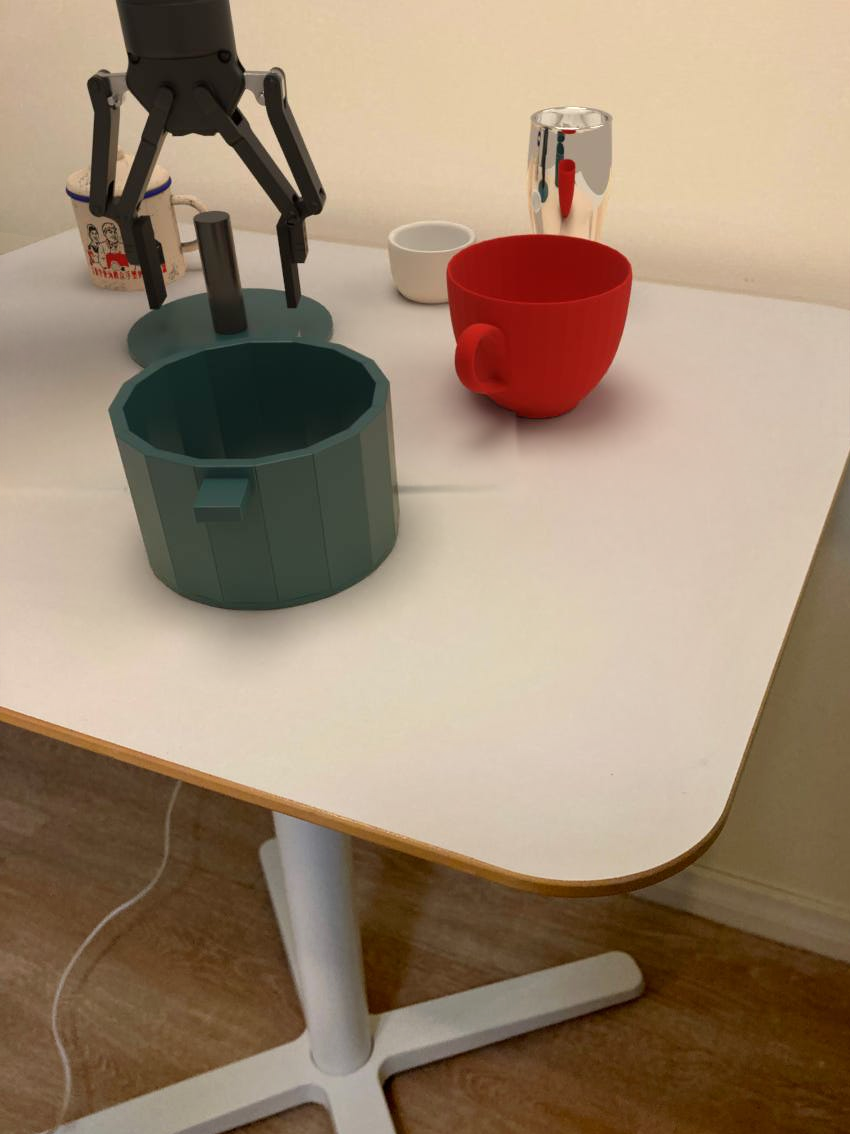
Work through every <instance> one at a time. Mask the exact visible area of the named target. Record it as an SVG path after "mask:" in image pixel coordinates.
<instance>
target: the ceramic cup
mask: <svg viewBox="0 0 850 1134" xmlns="http://www.w3.org/2000/svg"><path fill="white" fill-rule="evenodd" d="M446 280H447V292H448V301H449V302H448V308H449V317H450V321H451V327H452V332H453V337H454V340H455V343H456V346H455V351H454V368H455V372H456V376H457V377H458V379H459V381H460V383H461V384H462V385H463V386H464V387H465V388H466V389H467V390H469V391H471V392H474V393H477V394H483V395H486V396H487V397H488V398H489V399H491V400H492V401H493V402H494V403H495V404H497V405H498V406H499V407H502V408H504V409H505V410H509V411H512V412H515V416H516V417H521V418H528V419H546V418H552V417H557V416H561V415H564V414H566V413H569V412H571V411H572V410H574V409H575V408H576V407H577V406H578V405H579V403H580V402H581V401H582V400H584V399H585V398H586V397H587V396H588V395H589V394H590V393H591V392H592V391H593V390H594V389H595V388H596V387H597V385H598V384H599V383H600V382H601V381H602V380H603V378H604V376H605V375H606V374H607V372H608V371H609V369H610V367H611V365H613V362H614V359H615V357H616V355H617V352H618V349H619V346H620V345H621V340H622V338H623V334H624V330H625V328H626V327H625V326H626V323H627V319H628V318H627V317H628V313H629V308H630V307H629V306H630V300H631V295H632V286H633V269H632V264H631V262H630V261H629V259H628V258H627V256H625V255H624V254H623V253H622V252H620V251H619V250H617V249H615V248H613V247H611V246H610V245H606V244H604V243H601V242H599V243H598V242H595V241H591V240H587V239H583V238H578V237H571V236H564V235H550V234H533V233H527V234H514V235H508V236H507V235H506V236H500V237H495V238H491V239H487V240H483V241H480V242H477V244H474V245H471V246H469V247H467V248H465V249H463V250H461V251H459V252H458V253H457V254H456V255H454V256H453V257H452V259H451V260H450V261H449V263H448V266H447V271H446Z"/></svg>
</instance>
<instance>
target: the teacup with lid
mask: <svg viewBox="0 0 850 1134" xmlns="http://www.w3.org/2000/svg"><path fill="white" fill-rule="evenodd" d="M134 158H135V156H133V155H130V154H125V151H124V148H123V146H122V145H121V144H119V143H118V151H117V165H116V179H115V193H114V197H117V198H121V195H122V192H123V189H124V186H125V184H126V181H127V178H128V175H129V172H130V170H131V167H132V164H133V161H134ZM90 178H91V161H90V162H89V163H88V164H87V165H86V166H85V167H83V168H80V169H78V170H75V172H73V173H72V174H70V175H69V176H68V178H67V179H66V182H65V193H66V195H67V196H68V197H69V198H70V201H71V206H72V209H73V213H74V217H75V221H76V225H77V229H78V233H79V236H80V241H81V245H82V248H83V251H84V257H85V259H86V264H87V267H88V271H89V276H90V278H91V281H92V283H93V284H94V285H95V286H97V287H99V288H101V289H103V290H110V291H115V292H116V291H117V292H135V291H143V290H145V285H144V281H143V277H142V272H141V268H140V265H130V263H129V262H128V260H127V259H126V254H125V250H124V245H123V241H122V237H121V233H120V229H119V226H118V224H117V223H116V222H115V221H113V220H112V219H109V218H106V217H103V216H102V217H95V216H93V215H92V214H91V212H90V210H89V196H90ZM171 185H172V177H171V176H170V174H169V172H168V171H167V169H166V168H165V167H163V166H162V165H160V164H157V163H156V165H155V168H154V170H153V173H152V176H151V178H150V181H149V184H148V187H147V189H146V192H145V195H144V197H143V200H142V203H141V206H140V208H141V209H140V210H139V212H138V217H140V215H150V218H151V223H152V227H153V232H154V237H155V241H156V246H157V251H158V255H159V260H160V264H161V269H162V274H163V278H164V283H165V286H166V285H168V284H171V283H173V282H175V281H177V280H178V279H180V278H181V277H182V276H184V274H185V273H186V271H187V266H186V261H185V256H184V253H185V254H186V253H192V252H195V251H197V250H199V248H198V243H197V238H196V239H194V240H191V241H186V242H182V240H181V236H180V235H181V234H180V231H179V225H178V220H177V215H176V209H175V206H180V205H181V206H184V205H185V206H189V207H192V208H194V209H195V210H196V211H197V212H198V214H199V213H202V212H207V211H210V210H209V208H208V206H207V205H206V204H205V203H204V202H203V200H201V199H199V198H198V197H196V196H194V195H190V194H183V193H182V194H172V189H171ZM145 291H146V290H145Z"/></svg>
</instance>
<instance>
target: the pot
mask: <svg viewBox="0 0 850 1134" xmlns="http://www.w3.org/2000/svg"><path fill="white" fill-rule="evenodd" d="M392 407H393V406H392V394H391V383H390V380H389V379H388V378H387V376H386V375H385V374H384V372H383V371H382V369H381V368H380V366H379V365H378V363H377V362H376V361H375V360H374V359H373V358H370V357H368V356H366V355H364V354H362V353H361V352H358V351H356V350H354V349H352V348H350V347H348V346H346V345H343V344H341V343H336V342H331V341H329V342H326V341H320V340H315V339H309V338H304V337H301V334H300V329H264V330H263V332H262V335H261V337H245V338H240V339H234V340H228V341H222V342H216V343H211V344H205V345H200V346H196V347H194V348H191V349H188V350H185V351H183V352H180V353H177V354H174V355H172V356H169V357H166V358H163V359H161V360H158V361H156V362H154V363H152V364H151V365H149V366H148V367H147V368H144V369H142V370H141V371H139V372H138V373H136V374H135V375H133V376H132V377H130V378H129V379H127V380H125V382H123V384H122V385H121V387H120V388H119V389H118V392H117V393H116V395H115V397H114V399H113V400H112V402H111V403H110V405H109V406H108V409H107V411H108V416H109V419H110V423H111V427H112V431H113V435H114V437H115V442H116V445H117V449H118V453H119V456H120V459H121V463H122V467H123V470H124V475H125V478H126V481H127V487H128V489H129V493H130V497H131V501H132V504H133V508H134V511H135V514H136V518H137V522H138V525H139V529H140V533H141V536H142V541H143V544H144V548H145V552H146V555H147V559H148V563H149V566H150V569H152V571H153V572H154V574H155V575H156V577H157V578H158V579H159V580H160V581H161V582H162V583H163V584H164V585H165V586H166V587H167V588H169V589H170V590H172V591H174V592H175V593H177V594H178V595H181V596H182V597H185V598H187V599H188V600H191V601H195V602H196V603H197V602H198V603H200V604H204V605H207V606H212V607H217V608H222V609H231V610H242V611H243V610H246V611H249V610H250V611H258V610H276V609H283V608H290V607H295V606H299V605H304V604H308V603H311V602H316V601H319V600H322V599H325V598H327V597H330V596H333V595H336V594H338V593H340V592H342V591H344V590H346V589H348V588H351V587H353V586H354V585H356V584H357V583H359V582H361V581H362V580H364V579H365V578H367V577H368V576H369V575H370V574H372V573H373V572H374V571H375V570H377V569H378V568H379V566H380V565H381V564H382V563H384V562H385V560H386V559H387V557H388V556H389V555H390V553H391V552H392V550H393V549H394V546H395V544H396V542H397V538H398V534H399V519H400V502H399V487H398V486H399V485H398V474H397V462H396V449H395V448H396V447H395V435H394V422H393V421H394V420H393V408H392Z"/></svg>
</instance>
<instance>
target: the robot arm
mask: <svg viewBox="0 0 850 1134" xmlns="http://www.w3.org/2000/svg"><path fill="white" fill-rule="evenodd" d="M115 4H116V8H117V13H118V18H119V24H120V28H121V33H122V38H123V42H124V47H125V52H126V56H127V69H126V72H110V71H109V70H108V69H104V68H102V69H99V70H98V71H97V72H95V74H93V75H92V76H91V77H89V79H87V82H86V87H87V92H88V95H89V99H90V103H91V106H92V109H93V113H94V114H93V126H92V127H93V128H92V143H91V144H92V147H91V160H90V162H91V178H90V196H89V210H90V212H91V214H92V215H93V216H95V217H102V216H103V217H106V218H109V219H112V220H113V221H115V222H116V223H117V224H118V226H119V229H120V233H121V237H122V241H123V245H124V250H125V254H126V259H127V260H128V262H129V263H130V265H140V268H141V272H142V277H143V281H144V285H145V294H146V299H147V302H148V303H147V304H148V307H149V310H150V311H152V310H154V309H160V307H161V306H162V305H164V303H165V301H166V299H167V298H168V293H167V288H166V285H165V283H164V278H163V274H162V269H161V264H160V260H159V255H158V251H157V246H156V241H155V237H154V232H153V227H152V223H151V218H150V215H140V217H138V212H139V210H140V209H141V208H140V206H141V203H142V200H143V197H144V195H145V192H146V189H147V187H148V184H149V181H150V178H151V176H152V173H153V170H154V168H155V165H156V164H157V162H158V159H159V156H160V154H161V151H162V149H163V146H164V143H165V140H166V138H167V136H168V134H171V136H172V137H185V136H188V135H190V134H194V135H199V136H203V137H215V136H216V135H217V134H219V135H220V136H221V138H222V139H223V141H224V142H225V143H226V144H227V146H229V147H231V148H232V149H233V150H234V152H235V153H236V154H237V156H238V157H239V158H240V160H241V161H242V163H243V164H244V166H245V167H246V168H247V169H248V170H249V172H250V174H251V175H252V176H253V178H254V179H255V180H256V182H257V183H258V184H259V186H260V187H261V188H262V190H263V191H264V193H265V194H266V195H267V197H268V198H269V199H270V201H271V202H272V203H273V205H274V206H275V207H276V209H277V210H278V212H279V213H280V216H279V218H278V220H277V223H276V225H275V229H276V236H277V243H278V251H279V259H280V265H281V272H282V280H283V286H284V291H285V295H286V302H287V308H297V306H298V303H299V300H300V297H301V295H302V289H301V283H300V282H301V281H300V274H299V265H298V264H305V263H306V261H307V257H308V254H309V242H308V233H307V225H306V219H307V218H309V217H311V216H318V215H320V214H321V213H322V211H323V209H324V206H325V205H326V201H327V194H326V191H325V189H324V187H323V184H322V182H321V181H322V180H321V179H320V176H319V174H318V172H317V169H316V166H315V164H314V163H313V160H312V157H311V154H310V153H309V149H308V147H307V145H306V143H305V140H304V137H303V135H302V133H301V131H300V129H299V125H298V122H297V121H296V119H295V116H294V113H293V112H292V108H291V106H290V104H289V101H288V90H287V79H286V73H285V71H284V70H283V68H281V67H278V66H274V67H272V68H270V69H269V70H267V71H265V70H247V69H246V68H245V67H244V65H243V63H242V61H241V60H240V58H239V55H238V51H237V44H236V37H235V30H234V23H233V17H232V10H231V2H230V0H115ZM246 90H249V91H250V92H252V93H253V95H254V98H255V100H256V102H257V104H259V105H260V106H263V107H265V110H266V114H267V118H268V121H269V124H270V125H271V128H272V131H273V132H274V135H275V137H276V140H277V143H278V145H279V146H280V147H279V148H280V149H281V152H282V154H283V155H284V158H285V160H286V162H287V166H288V167H289V170H290V172H291V175H292V177H293V179H294V181H295V184H296V186H297V188H298V191H299V193H300V195H299V194H298V192H297V191H296V190H295V188H294V187H293V185H292V184H291V183H290V182H289V180H288V179H287V177H286V176H285V174H284V172H282V170H281V168H280V167H279V165H278V164H277V163H276V161H275V160H274V159H273V157H272V156H271V154H270V153H269V152H268V151H267V149H266V148H265V146H264V144H262V142H261V141H260V139H259V138H258V136H257V135H256V134H255V131H253V129H252V127H251V123H250V122H249V120H248V119H247V118H246V117H245V115H244V113H243V112H242V110H241V109H240V108H239V106H238V105H239V103H240V101H241V100H242V97H243V95H244V93H245V92H246ZM128 91H129V92H130V94H131V96H133V97H134V98H135V99H136V101H137V102H138V103H139V104H140V105H141V107H143V109H144V110H145V111H146V112H147V113H148V116H147V118H146V121H145V125H144V127H143V129H142V132H141V136H140V141H139V144H138V147H137V150H136V152H135V156H134V157H135V158H134V161H133V164H132V167H131V170H130V172H129V175H128V178H127V181H126V184H125V186H124V189H123V192H122V195H121V198H117V197H114V193H115V179H116V165H117V151H118V144H119V138H120V137H119V136H120V121H121V106H122V105H123V104H124V103H125V101H126V97H127V96H126V95H127V92H128Z"/></svg>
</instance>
